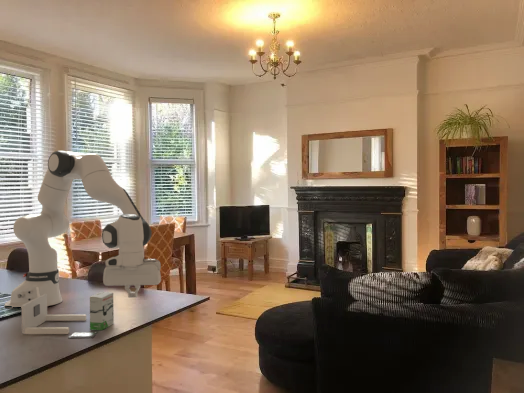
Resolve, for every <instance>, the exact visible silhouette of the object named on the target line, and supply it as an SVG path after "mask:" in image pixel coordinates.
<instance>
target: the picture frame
mask: <svg viewBox="0 0 524 393" xmlns="http://www.w3.org/2000/svg"><path fill="white" fill-rule="evenodd" d="M97 334H98V332H96V331H94V332H73V333H72V334H70V335H69V336H68V339H93V338H94V337H96V335H97Z"/></svg>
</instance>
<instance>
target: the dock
mask: <svg viewBox="0 0 524 393" xmlns="http://www.w3.org/2000/svg"><path fill="white" fill-rule="evenodd" d="M20 310H21V332H22V335H68V334H70V326H69V327H67V326H66V327H64V326H63V327H60V326H59V327H55V326H54V327H53V326H52V327H51V326H50V327H48V326H46V327H43V326H42V327H39V326H40V325H42V324H43V323H45V322H47V321H48V322H50V321H53V322H54V321H55V322H56V321H57V322H58V321H64V322H65V321H66V322H67V321H69V322H70V321H73V322H74V321H78V322H80V321H87V314H48V306H47V294H43V295H41V296H39V297H37V298H35V299H33V300H31V301H29V302H27V303H25V304H24V305H22V306H21V308H20Z"/></svg>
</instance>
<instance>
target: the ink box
mask: <svg viewBox="0 0 524 393" xmlns="http://www.w3.org/2000/svg"><path fill="white" fill-rule="evenodd" d="M114 321H115V320H114V292H111V291H110V292H109V291H100V292H98V293H95V294H93V295H91V296H89V330H91V331H103V330H105V329H107V328H108V327H110V326H112V325H113V324H114V323H115V322H114Z"/></svg>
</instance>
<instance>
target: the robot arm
mask: <svg viewBox="0 0 524 393" xmlns="http://www.w3.org/2000/svg"><path fill="white" fill-rule="evenodd" d="M74 180H81V183H82V185H83V188H84V191H85V193H86V194H87V195H88V196H89V197H90V199H91V198H92V199H93V200H95V201H99V202H102V203H107V204H111V205H113V206H114V207H117V208H118V209H119V210H120V211H121V212H122V214H121V215H120V216H119V217H118V219H117V220H115V221H113V222H110V223H108V224H106V225H105V227H104V228H103V229H102V232H101V237H102V238H101V239H102V242H103V244H104V245H105V247H107V248H108V249H118V255H114V256H112V257H110V258H107V259H106V260H105V263H104V264H105V268H104V270H103V274H102V275H103V276H102V281H103V282H102V283H103V285H104V286H106V287H108V286H109V287H110V286H111V287H112V286H113V287H115V286H118V287H119V286H124V290H125V291H126V292H127V296H128V298H132V299H133V298H138V292H139V290H140V288H141V286H156V285H157V286H158V285H159V284H160V283H161V281H162V275H161V265H162V264H161V262H160V260H158V259H157V258H145V248H144V246H146V245H147V244H148V243H149V241H150V240H151V238H152V235H153V234H152V232H153V231H152V229H151V228H152V227H151V226H150V225H149V223H148V222H147V221H146V220H145V219H144V217H143V216H142V214H141V213H140V211H139V209H138V208H137V206H136V204H135V202H134V201H133V199H132V198H131V196H130V195H129V193H128V191H127V190H126V189H124V188H123V187H121V185H119V184H118V183H117V182H116V181H115V180H114V178H113V177H112V175H111V172H110V169H109V167H108V165H107V163H106V162H105V161H104V159H103V158H102V157H101V156H100V155H99V154H97V153H95V152H94V153H91V152H90V153H82V152H79V151H78V152H74V151H66V150H55V151H53V152H52V153H51V154H50V156H49V158H48V160H47V170H46V173H45V174H44V177H43V179H42V183H41V185H40V188H39V191H38V194H37V201H38V202H39V204H41V205H42V208H41V212H40V213H32V214H27V215H24V216H21V217H19V218H17V219H16V220H15V221H14V224H13V226H12V227H13V228H12V229H13V234H14V235H15V237H16V238H17V239H19V240H20V241H21V242H22V243H23V245H24V246H25V248H26V251H27V256H28V268H29V271H28V272H25V273H23V278H25V280H24V281H23V282H21V283H19V285H18V286H16V287H15V288H13V290H12V291H11V294H10V299H9V300H8V301H7V302H5V303H4V307H5V306H12V307H11V308H13V307H21V306H22V305H24V304H25V303H27V302H29V301H31V300H33V299H35V298H37V297H39V296H41V295H43V294H47V307H49V306H55V305H58V304H60V303H62V302H63V298H62V294H61V291H60V285H59V282H60V272H59V268H58V253H57V250H56V249H54V248H53V247H51V245H50V242H49V238H56V237H58V236H61V235H63V234H65V233H66V232H67V231H68V230H69V228H70V221H69V218H68V217H67V216H66V213H65V206H66V203H67V198H68V195H69V193H70V189H71V187H72V184H73V181H74ZM131 286H134V289H135V290H134V291H132V290H131V289H130V287H131Z"/></svg>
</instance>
